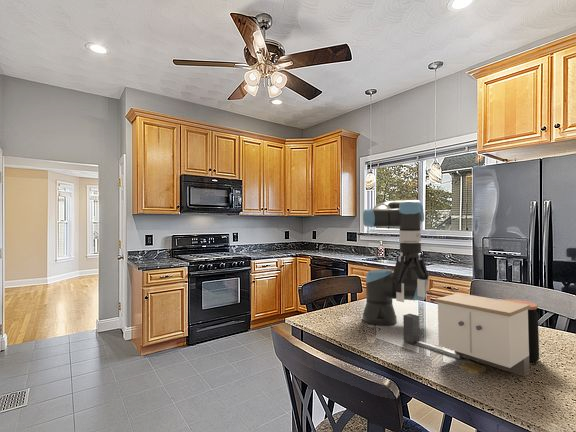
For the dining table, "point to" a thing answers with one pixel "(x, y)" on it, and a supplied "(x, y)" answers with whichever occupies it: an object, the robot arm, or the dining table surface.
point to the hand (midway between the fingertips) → (411, 298)
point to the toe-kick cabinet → (485, 330)
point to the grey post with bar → (413, 337)
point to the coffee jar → (531, 330)
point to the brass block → (472, 367)
